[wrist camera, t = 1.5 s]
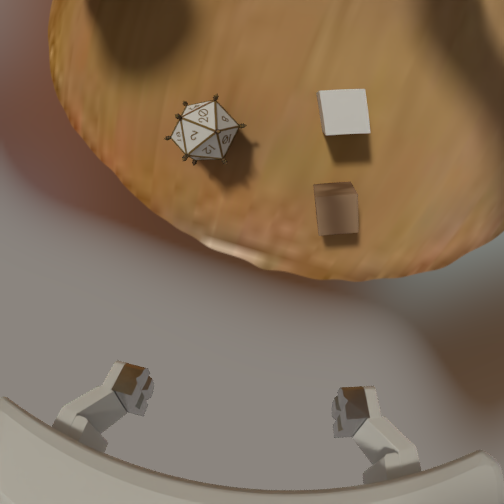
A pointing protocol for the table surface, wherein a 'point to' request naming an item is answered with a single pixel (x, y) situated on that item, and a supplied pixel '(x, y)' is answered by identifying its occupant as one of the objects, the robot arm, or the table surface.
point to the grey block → (343, 111)
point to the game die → (204, 131)
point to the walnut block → (336, 208)
